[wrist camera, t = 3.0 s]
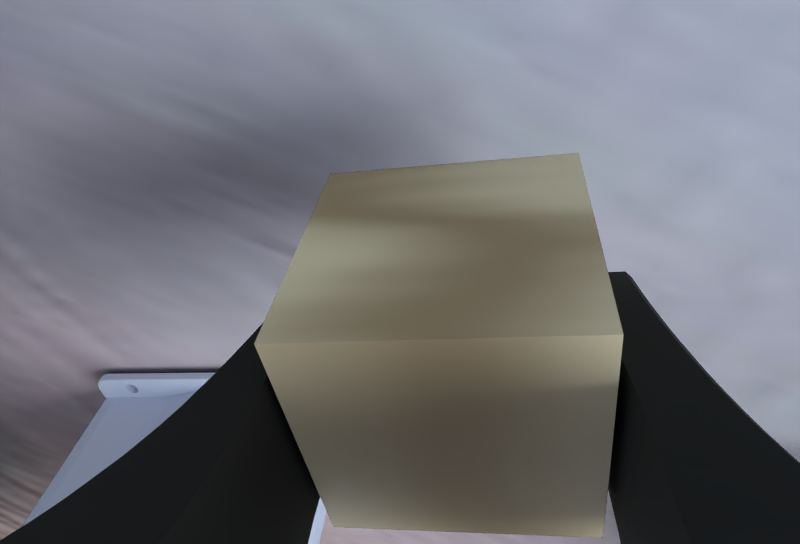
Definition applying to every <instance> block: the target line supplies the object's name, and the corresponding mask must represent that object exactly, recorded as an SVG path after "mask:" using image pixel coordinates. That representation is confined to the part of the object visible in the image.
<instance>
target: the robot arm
mask: <svg viewBox="0 0 800 544" xmlns="http://www.w3.org/2000/svg"><path fill="white" fill-rule="evenodd" d="M608 274H609V278H610V282H611V286H612V290H613V294H614V298H615V302H616V306H617V310H618V314H619V318H620V322H621V326H622V330H623V334H624V335H623V345H622V355H621V365H620V375H619V385H618V395H617V404H616V414H615V424H614V434H613V444H612V454H611V464H610V474H609V483H608V490H609V494H610V498H611V502H612V507H613V511H614V515H615V519H616V523H617V527H618V532H619V536H620V541H621V544H800V463H799V462H798V461H797V460H796V459H795V458H794V457H793V456H792V455H790V454H789V453H788V452H787V451H786V450H785V449H784V448H783V447H782V446H780V445H779V444H778V443H777V442H776V441H775V440H774V439H773V438H772V437H771V436H769V435H768V434H767V433H766V432H765V431H764V430H763V429H762V428H761V427H760V426H759V425H758V424H757V423H756V422H755V421H754V420H753V419H752V418H751V417H750V416H749V415H748V414H747V413H746V412H745V411H744V410H743V409H742V408H741V407H740V406H739V405H738V404H737V403H736V402H735V401H734V400H733V399H732V398H731V397H730V396H729V395H728V394H727V393H726V392H725V391H724V390H723V389H722V388H721V387H720V386H719V385H718V384H717V383H716V381H715V380H714V379H713V378H712V377H711V376H710V375H709V374H708V373H707V372H706V371H705V369H704V368H703V367H702V366H701V365H700V364H699V363H698V361H697V360H696V359H695V358H694V357H693V356H692V355H691V353H690V352H689V351H688V350H687V349H686V348H685V346H684V345H683V344H682V343H681V342H680V341H679V339H678V338H677V337H676V336H675V335H674V333H673V332H672V331H671V330H670V328H669V327H668V326H667V325H666V323H665V322H664V321H663V320H662V318H661V317H660V316H659V314H658V313H657V312H656V311H655V309H654V308H653V307H652V305H651V304H650V303H649V301H648V300H647V299H646V297H645V296H644V294H643V293H642V292H641V290H640V289H639V287H638V286H637V284H636V283H635V282H634V280H633V279H632V277H631V276H630V275H629V274H627V273H626V272H608ZM263 323H264V322H263ZM262 325H263V324H262ZM262 325H261V326H260V327H259V328H258V329H257V330H256V331H255V332H254V333H253V334H252V335H251V337H250V338H249V339H248V340H247V341H246V342H245V343H244V344H243V345H242V346H241V347H240V348H239V349H238V350H237V351H236V352H235V354H234V355H233V356H232V357H231V358H230V359H229V360H228V361H227V362H226V363H225V364H224V365H223V366H222V367H221V368H220V369H219V370H218V371H217V372H216V373H133V374H105V375H103V376H102V377H101V379H100V380H99V381H98V387H99V389H100V391H101V392H102V394H103V395H104V396H105V398H106V399H105V401H104V402H103V404H102V405H101V407H100V408H99V410H98V411H97V413H96V414H95V416H94V418H93V419H92V421H91V422H90V424H89V425H88V427H87V428H86V430H85V431H84V433H83V434H82V436H81V437H80V439H79V440H78V442H77V443H76V445H75V446H74V448H73V450H72V451H71V453H70V454H69V456H68V457H67V459H66V460H65V462H64V463H63V465H62V466H61V468H60V469H59V471H58V472H57V474H56V475H55V477H54V479H53V480H52V482H51V483H50V485H49V486H48V488H47V489H46V491H45V492H44V494H43V495H42V497H41V498H40V500H39V501H38V503H37V504H36V506H35V507H34V509H33V511H32V512H31V514H30V515H29V517H28V518H27V520H26V521H25V523H24V524H23V526H22V527H21V528H19V529H18V530H16V531H15V532H13V533H11V534H10V535H8V536H7V537H5V538H4V539H2V540H0V544H319V543H320V539H321V534H322V530H323V526H324V522H325V518H326V513H327V511H326V509H325V507H324V504H323V502H322V500H321V497H320V495H319V493H318V491H317V488H316V486H315V484H314V481H313V479H312V477H311V474H310V472H309V470H308V467H307V465H306V463H305V461H304V458H303V456H302V454H301V451H300V449H299V447H298V444H297V442H296V440H295V437H294V435H293V433H292V430H291V428H290V426H289V424H288V421H287V419H286V417H285V414H284V412H283V410H282V407H281V405H280V403H279V400H278V398H277V396H276V393H275V391H274V389H273V387H272V384H271V382H270V380H269V377H268V375H267V373H266V370H265V368H264V366H263V363H262V361H261V359H260V357H259V354H258V352H257V350H256V347H255V345H254V343H255V341H256V338H257V336H258V334H259V332H260V330H261V327H262Z"/></svg>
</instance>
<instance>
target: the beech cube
mask: <svg viewBox="0 0 800 544" xmlns="http://www.w3.org/2000/svg"><path fill="white" fill-rule="evenodd" d="M623 335H624V334H623V330H622V326H621V322H620V318H619V314H618V310H617V306H616V302H615V298H614V294H613V290H612V286H611V282H610V278H609V274H608V270H607V266H606V262H605V258H604V254H603V250H602V246H601V242H600V238H599V234H598V230H597V226H596V222H595V218H594V214H593V210H592V206H591V202H590V198H589V194H588V190H587V186H586V181H585V177H584V173H583V169H582V165H581V161H580V157H579V153H572V154H560V155H548V156H536V157H524V158H512V159H500V160H488V161H477V162H465V163H453V164H441V165H429V166H417V167H405V168H393V169H382V170H370V171H358V172H346V173H334V174H330V176H329V178H328V180H327V183H326V185H325V187H324V189H323V191H322V194H321V196H320V198H319V200H318V203H317V205H316V207H315V209H314V212H313V214H312V216H311V218H310V220H309V223H308V225H307V227H306V229H305V232H304V234H303V236H302V238H301V240H300V243H299V245H298V247H297V249H296V252H295V254H294V256H293V258H292V261H291V263H290V265H289V267H288V269H287V272H286V274H285V276H284V278H283V281H282V283H281V285H280V287H279V289H278V292H277V294H276V296H275V298H274V301H273V303H272V305H271V307H270V310H269V312H268V314H267V316H266V318H265V321H264V323H263V325H262V327H261V330H260V332H259V334H258V336H257V338H256V341H255V343H254V345H255V347H256V350H257V352H258V354H259V357H260V359H261V361H262V363H263V366H264V368H265V370H266V373H267V375H268V377H269V380H270V382H271V384H272V387H273V389H274V391H275V393H276V396H277V398H278V400H279V403H280V405H281V407H282V410H283V412H284V414H285V417H286V419H287V421H288V424H289V426H290V428H291V430H292V433H293V435H294V437H295V440H296V442H297V444H298V447H299V449H300V451H301V454H302V456H303V458H304V461H305V463H306V465H307V467H308V470H309V472H310V474H311V477H312V479H313V481H314V484H315V486H316V488H317V491H318V493H319V495H320V497H321V500H322V502H323V504H324V507H325V509H326V511H327V514H328V516H329V518H330V521H331V523H332V525H333V527H345V528H370V529H395V530H420V531H445V532H470V533H495V534H520V535H545V536H570V537H595V538H603V533H604V523H605V513H606V503H607V493H608V483H609V474H610V464H611V454H612V444H613V434H614V424H615V414H616V404H617V395H618V385H619V375H620V365H621V355H622V345H623Z"/></svg>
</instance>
